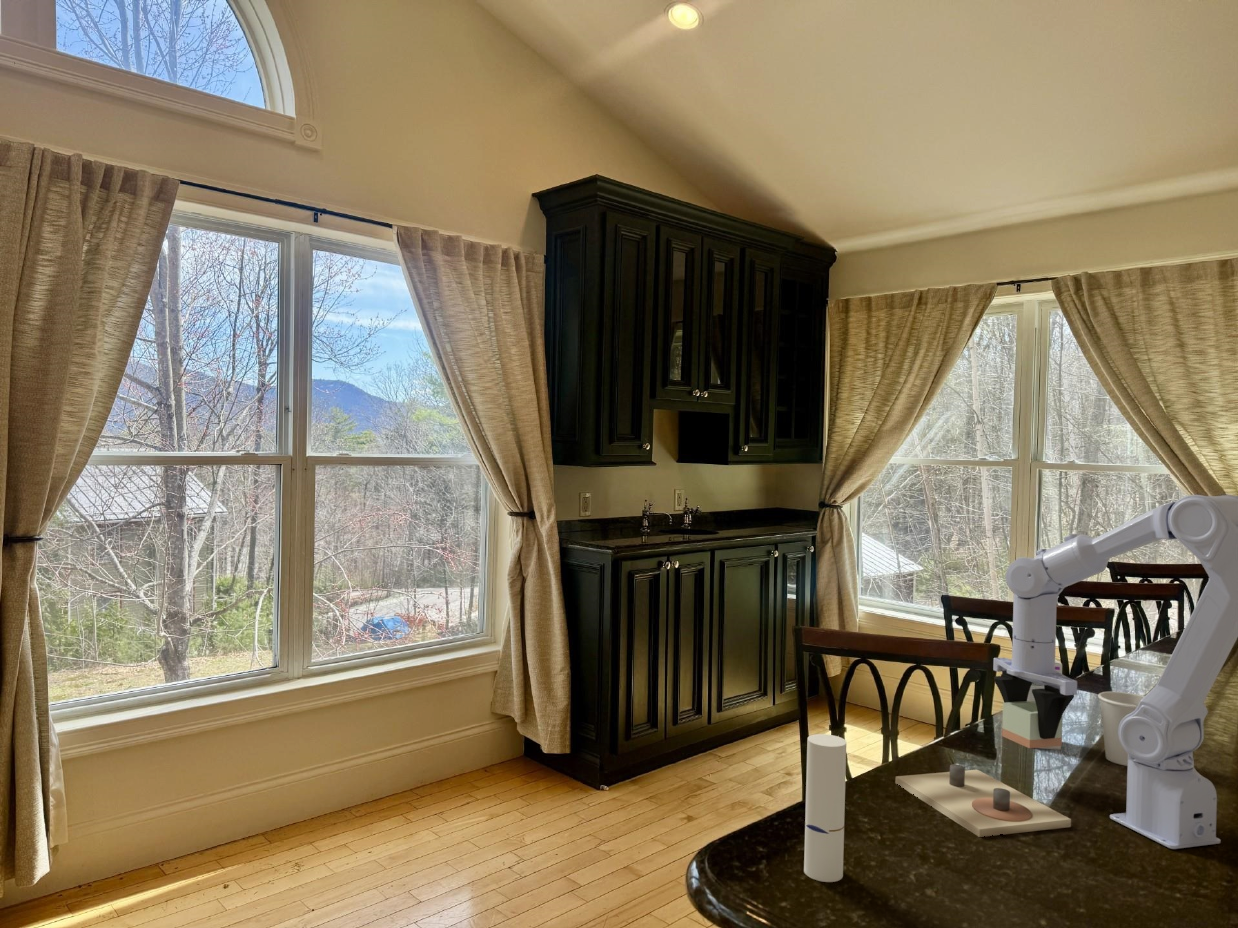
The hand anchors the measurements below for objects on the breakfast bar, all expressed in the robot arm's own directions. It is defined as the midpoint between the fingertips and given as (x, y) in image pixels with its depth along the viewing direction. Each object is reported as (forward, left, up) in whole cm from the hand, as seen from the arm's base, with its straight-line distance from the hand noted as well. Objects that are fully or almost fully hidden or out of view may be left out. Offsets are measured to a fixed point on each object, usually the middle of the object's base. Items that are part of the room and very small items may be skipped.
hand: (1031, 731), depth 125 cm
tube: (-18, +44, -8) cm, 48 cm away
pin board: (-5, +13, -8) cm, 16 cm away
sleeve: (0, 0, -1) cm, 1 cm away
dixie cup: (+5, -23, -8) cm, 25 cm away
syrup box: (+15, -15, -8) cm, 23 cm away
